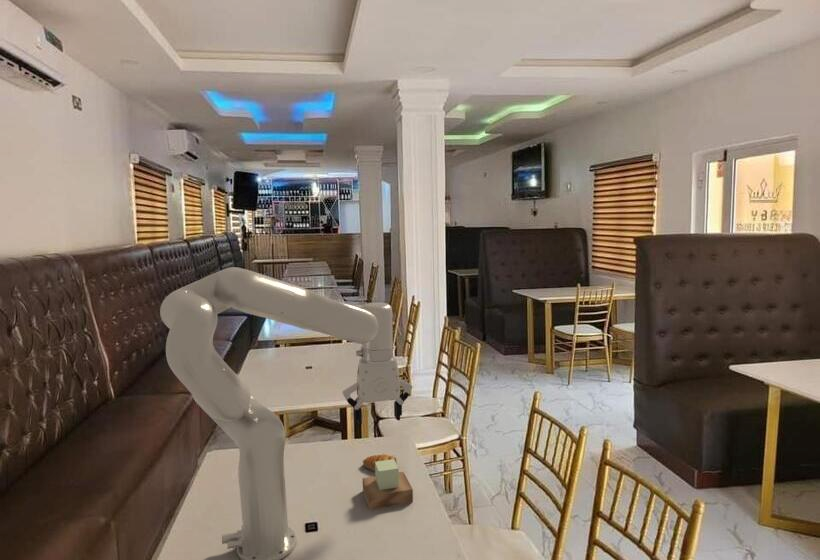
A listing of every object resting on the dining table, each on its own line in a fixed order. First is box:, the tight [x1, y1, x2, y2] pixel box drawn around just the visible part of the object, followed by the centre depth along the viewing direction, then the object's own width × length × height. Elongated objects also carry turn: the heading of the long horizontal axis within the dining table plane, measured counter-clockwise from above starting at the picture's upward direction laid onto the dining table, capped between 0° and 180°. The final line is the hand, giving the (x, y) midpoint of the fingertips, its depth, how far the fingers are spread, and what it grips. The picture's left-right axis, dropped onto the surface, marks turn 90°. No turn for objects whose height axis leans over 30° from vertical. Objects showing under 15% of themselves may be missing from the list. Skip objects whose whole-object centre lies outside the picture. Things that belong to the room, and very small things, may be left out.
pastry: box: [362, 453, 398, 472], centre depth 152 cm, size 9×7×4 cm
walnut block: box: [362, 471, 414, 511], centre depth 137 cm, size 11×9×4 cm
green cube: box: [375, 459, 400, 490], centre depth 137 cm, size 5×5×5 cm
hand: (378, 420), depth 134 cm, fingers open, 9 cm apart
